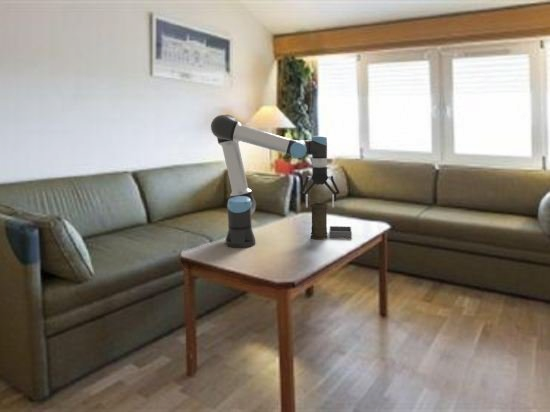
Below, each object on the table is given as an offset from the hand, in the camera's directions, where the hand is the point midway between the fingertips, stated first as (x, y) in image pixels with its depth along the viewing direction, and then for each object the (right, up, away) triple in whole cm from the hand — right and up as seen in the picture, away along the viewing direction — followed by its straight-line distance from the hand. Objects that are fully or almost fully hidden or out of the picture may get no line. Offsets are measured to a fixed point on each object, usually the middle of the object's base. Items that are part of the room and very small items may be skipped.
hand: (319, 207), depth 239 cm
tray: (+12, -15, +8) cm, 20 cm away
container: (0, -16, +3) cm, 17 cm away
